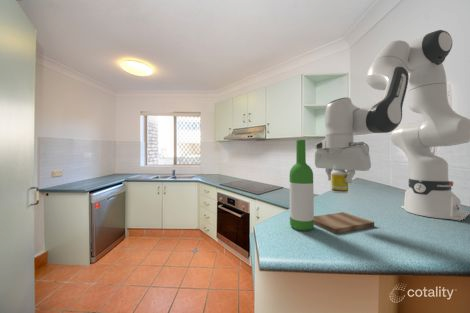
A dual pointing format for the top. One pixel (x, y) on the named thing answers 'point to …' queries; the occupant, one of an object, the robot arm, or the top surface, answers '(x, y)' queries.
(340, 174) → the supplement bottle
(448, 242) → the top surface
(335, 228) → the walnut board
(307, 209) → the wine bottle
